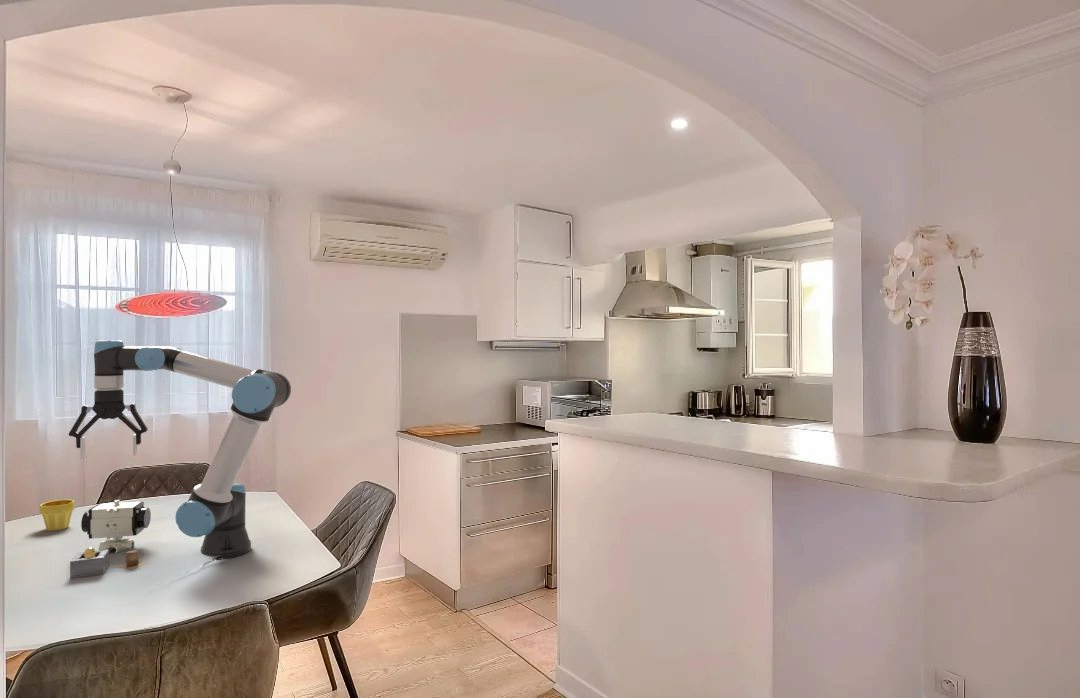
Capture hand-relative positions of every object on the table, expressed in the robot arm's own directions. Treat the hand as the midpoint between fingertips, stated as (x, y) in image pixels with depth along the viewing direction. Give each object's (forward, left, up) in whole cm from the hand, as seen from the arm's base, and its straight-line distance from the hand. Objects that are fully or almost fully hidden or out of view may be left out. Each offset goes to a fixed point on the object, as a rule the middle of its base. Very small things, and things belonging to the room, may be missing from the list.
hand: (109, 456), depth 193 cm
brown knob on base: (-10, +1, -34) cm, 36 cm away
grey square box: (-3, +9, -33) cm, 34 cm away
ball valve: (+8, -9, -35) cm, 37 cm away
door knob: (-3, +9, -34) cm, 36 cm away
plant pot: (+56, -26, -35) cm, 71 cm away
